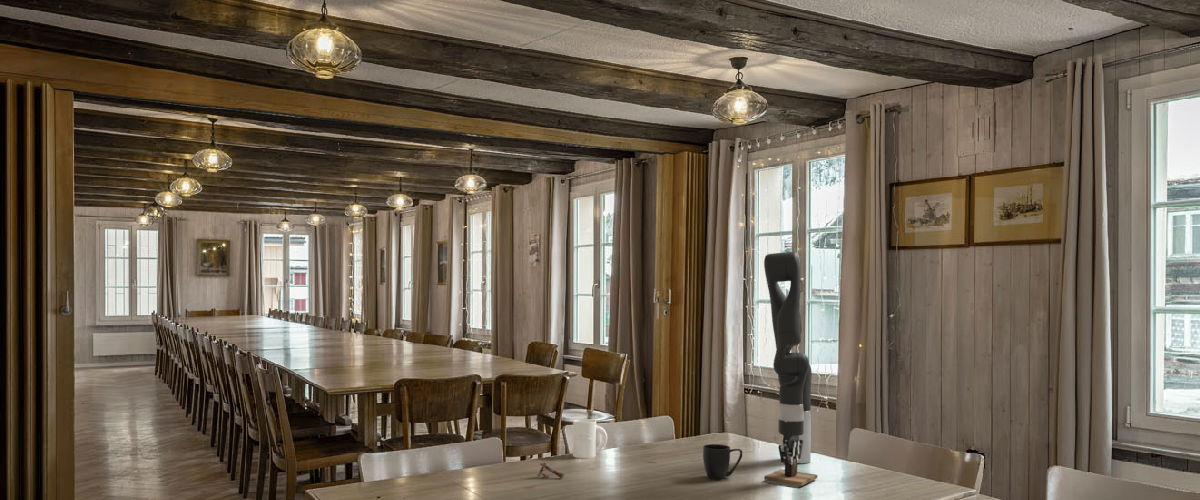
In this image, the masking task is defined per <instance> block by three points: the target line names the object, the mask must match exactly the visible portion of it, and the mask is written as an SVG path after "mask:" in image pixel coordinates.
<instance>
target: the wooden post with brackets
mask: <svg viewBox="0 0 1200 500" xmlns="http://www.w3.org/2000/svg"><path fill="white" fill-rule="evenodd" d="M539 465H540V466H541V468H540V470H539V471H538V474H537V476H538V477H540V476H541V475H542V476H543V478H545V479H549V478H550V476H549V474H547V473H544V471H546V470H547V471H548V472H550V473H551V474H554V475H556V476H557V477H559V479H560V480H562V479H563V478H564V475H565V472H562V473H561V472H559V471H558V470H556V469H554V468H553V467H551V466H548V464H547V463H546V462H540V463H539Z"/></svg>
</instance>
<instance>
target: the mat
mask: <svg viewBox="0 0 1200 500" xmlns="http://www.w3.org/2000/svg"><path fill="white" fill-rule="evenodd" d="M765 483H766V484H767V483H768V484H773V485H779V486H784V487H789V488H796V489H797V488H800V487H802V486H801V485H795V484H789V483H783V482H777V481H771V480H765Z"/></svg>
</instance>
